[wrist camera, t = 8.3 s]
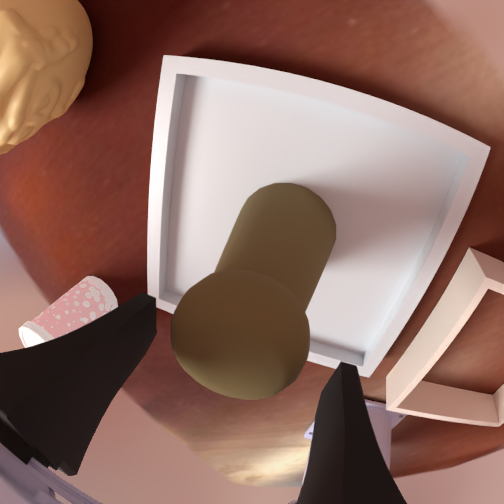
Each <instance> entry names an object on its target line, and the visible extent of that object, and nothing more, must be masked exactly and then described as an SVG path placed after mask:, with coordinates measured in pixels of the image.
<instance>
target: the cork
mask: <svg viewBox="0 0 504 504" xmlns="http://www.w3.org/2000/svg"><path fill="white" fill-rule="evenodd" d="M335 241H336V223H335V220H334V217H333V214H332V211H331V209H330V208H329V207H328V205H327V204H326V203H325V202H324V200H323V199H322V198H321V197H320V196H319V195H317V194H316V193H314V192H313V191H311V190H310V189H308V188H306V187H303V186H300V185H296V184H293V183H273V184H270V185H267V186H264V187H262V188H259V189H258V190H257V191H256V192H254V193H253V194H252V195H251V196H249V197H248V199H247V200H246V202H245V204H244V205H243V207H242V208H241V210H240V213H239V215H238V217H237V220H236V222H235V224H234V227H233V229H232V231H231V233H230V236H229V238H228V240H227V243H226V245H225V247H224V250H223V252H222V254H221V257H220V259H219V262H218V264H217V266H216V269H215V271H214V273H211V274H209V275H208V276H206V277H205V278H203V279H202V280H201V281H199V282H198V283H196V284H195V285H193V286H192V287H191V288H189V289H188V290H187V292H186V293H185V294H184V296H183V297H182V298H181V300H180V302H179V304H178V306H177V307H176V309H175V311H174V314H173V317H172V321H171V344H172V348H173V351H174V354H175V356H176V359H177V360H178V362H179V363H180V364H181V366H182V367H183V368H184V370H185V371H186V372H187V373H188V374H189V375H190V376H192V377H193V378H194V379H195V380H196V381H197V382H199V383H200V384H202V385H203V386H205V387H207V388H209V389H210V390H212V391H214V392H217V393H219V394H222V395H225V396H228V397H233V398H239V399H245V400H253V399H264V398H268V397H271V396H274V395H276V394H278V393H279V392H281V391H282V390H283V389H285V388H286V387H287V386H289V385H290V384H291V383H293V382H294V381H295V380H296V379H297V377H298V375H299V374H300V372H301V370H302V368H303V366H304V364H305V362H306V360H307V359H308V354H309V349H310V327H309V321H308V318H307V315H306V313H305V312H306V310H307V308H308V305H309V303H310V301H311V298H312V296H313V294H314V292H315V289H316V287H317V285H318V282H319V280H320V278H321V275H322V273H323V271H324V268H325V266H326V264H327V261H328V259H329V256H330V254H331V251H332V249H333V246H334V243H335Z"/></svg>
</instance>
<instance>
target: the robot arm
mask: <svg viewBox="0 0 504 504" xmlns="http://www.w3.org/2000/svg"><path fill="white" fill-rule="evenodd" d="M156 334H157V331H156V298H155V297H153V296H150V295H148V294H145V293H143V292H142V293H140V294H139V295H137V296H135V297H134V298H132V299H130V300H128V301H127V302H125V303H123V304H122V305H120V306H118V307H117V308H115V309H113V310H112V311H110V312H108V313H106V314H105V315H103V316H101V317H99V318H97V319H96V320H94V321H92V322H90V323H88V324H86V325H84V326H82V327H80V328H78V329H76V330H74V331H72V332H69V333H67V334H65V335H62V336H60V337H57V338H55V339H52V340H49V341H47V342H43V343H40V344H37V345H34V346H31V347H27V348H23V349H19V350H14V351H9V352H3V353H0V504H63V503H61V502H60V501H58V500H57V499H56V498H55V493H54V491H55V492H56V493H58V494H59V495H61V496H62V497H64V498H65V499H67V500H68V501H70V502H71V503H73V504H102V503H100V502H99V501H97V500H95V499H93V498H92V497H90V496H88V495H87V494H85V493H83V492H82V491H80V490H79V489H77V488H75V487H74V486H72V485H71V484H69V483H68V482H66V481H65V480H63V479H62V478H60V477H59V476H57V475H56V474H55V473H53V472H52V471H50V470H49V469H48V467H49V466H50V467H52V468H53V469H55V470H57V469H59V470H61V471H62V472H64V473H65V474H67V475H68V476H73V475H76V474H77V472H78V470H79V467H80V465H81V462H82V460H83V457H84V455H85V452H86V450H87V448H88V446H89V444H90V441H91V439H92V437H93V435H94V433H95V431H96V429H97V427H98V425H99V423H100V421H101V419H102V417H103V415H104V413H105V412H106V410H107V408H108V406H109V404H110V403H111V401H112V400H113V398H114V397H115V395H116V393H117V392H118V391H119V389H120V388H121V387H122V385H123V384H124V383H125V381H126V380H127V378H128V377H129V376H130V374H131V373H132V372H133V370H134V369H135V368H136V366H137V365H138V363H139V362H140V361H141V359H142V358H143V357H144V355H145V354H146V352H147V350H148V348H149V347H150V345H151V343H152V341H153V339H154V337H155V336H156ZM406 415H408V414H403V413H398V412H393V411H388V410H386V404H384V403H379V402H375V401H371V400H366V399H364V395H363V391H362V386H361V382H360V377H359V373H358V368H357V366H356V365H352V364H349V363H345V362H342V361H341V362H340V364H339V365H338V367H337V368H336V370H335V372H334V373H333V375H332V376H331V378H330V380H329V381H328V383H327V384H326V386H325V387H324V389H323V390H322V392H321V396H320V400H319V404H318V408H317V411H316V415H315V421H314V422H313V423H312V424H311V426H310V427H309V428H308V430H307V431H306V432H305V434H304V437H305V438H306V439H310V440H312V441H311V446H310V450H309V455H308V459H307V464H306V468H305V472H304V477H303V482H302V488H301V491H300V494H299V497H298V500H293V501H291V502H290V503H288V504H407V503H406V501H405V500H404V498H403V496H402V494H401V493H400V491H399V489H398V487H397V485H396V483H395V481H394V480H393V478H392V476H391V473H390V471H389V469H390V452H391V430H392V429H393V428H394V427H395V426H396V425H397V424H398V423H399V422H400V421H401V420H402V419H403V418H404V417H405V416H406ZM53 490H54V491H53Z"/></svg>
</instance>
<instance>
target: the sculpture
mask: <svg viewBox="0 0 504 504" xmlns="http://www.w3.org/2000/svg"><path fill="white" fill-rule="evenodd" d="M92 47H93V36H92V28H91V24H90V20H89V18H88V15H87V13H86V11H85V9H84V8H83V6H82V5H81V3H80V2H79V1H78V0H0V155H1V154H3V153H7V152H9V151H10V150H11V148H12V147H14V146H16V144H19V143H21V142H23V141H25V140H26V139H28V138H30V137H31V136H32V135H34V134H35V133H36V132H37V131H38V130H39V129H40V128H41V127H42V126H43V125H44V124H46V123H48V122H49V121H51V120H52V119H54V118H58V117H60V116H62V115H63V114H64V113H65V112H66V111H67V110H68V108H69V107H70V105H71V104H72V103H73V102H74V100H75V99H76V97H77V96H78V95H79V93H80V91H81V89H82V88H83V86H84V84H85V75H86V73H87V70H88V67H89V64H90V60H91V55H92Z"/></svg>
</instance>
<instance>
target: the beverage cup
mask: <svg viewBox="0 0 504 504" xmlns="http://www.w3.org/2000/svg"><path fill="white" fill-rule="evenodd" d="M117 307H118V304H117V299H116V297H115V295H114V293H113V291H112V290H111V289H110V287H109V286H108V285H107V284H106V283H104V282H103V281H102V280H101V279H99V278H97V277H94V276H87V277H86V278H84V279H83V280H82V281H80V282H79V283H78V284H77V285H75V286H74V287H73V288H72V289H70V290H69V291H68V292H67V293H65V294H64V295H63V296H62V297H60V298H59V299H58V300H57V301H55V302H54V303H53V304H52V305H51V306H49V307H48V308H47V309H46V310H45V311H43V312H42V313H41V314H40V315H38V316H37V317H36V318H35V319H34V320H33V321H31V322H30V321H27V322H26V323H25V324H24V325H22V326H21V327H20V328H19V336H20V338H21V340H22V343H23V345H24V346H25V348H27V347H31V346H34V345H37V344H40V343H43V342H47V341H49V340H52V339H55V338H57V337H60V336H62V335H65V334H67V333H69V332H72V331H74V330H76V329H78V328H80V327H82V326H84V325H86V324H88V323H90V322H92V321H94V320H96V319H97V318H99V317H101V316H103V315H105V314H106V313H108V312H110V311H112V310H113V309H115V308H117Z"/></svg>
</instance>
